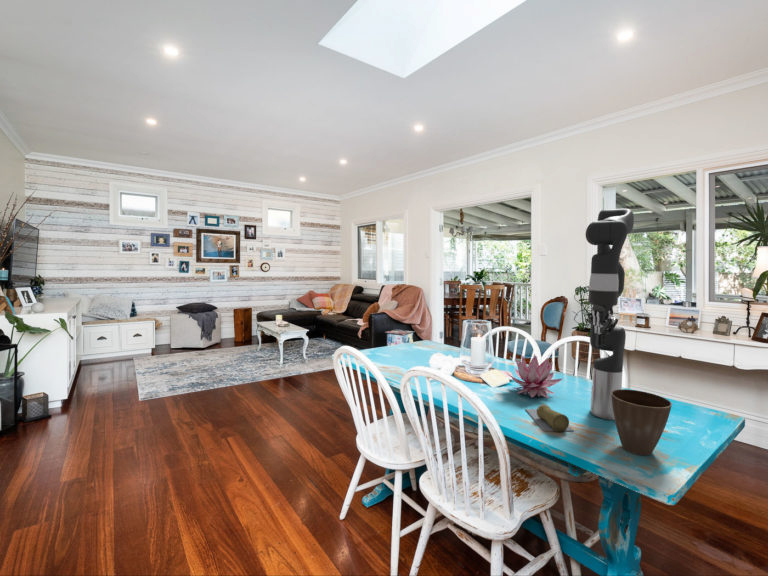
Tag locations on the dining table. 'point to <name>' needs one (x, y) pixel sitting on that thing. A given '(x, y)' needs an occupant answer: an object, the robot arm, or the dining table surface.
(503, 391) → the dining table surface
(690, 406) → the dining table surface
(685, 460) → the dining table surface
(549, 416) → the cork
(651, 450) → the plant pot
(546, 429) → the mat
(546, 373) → the decorative flower
